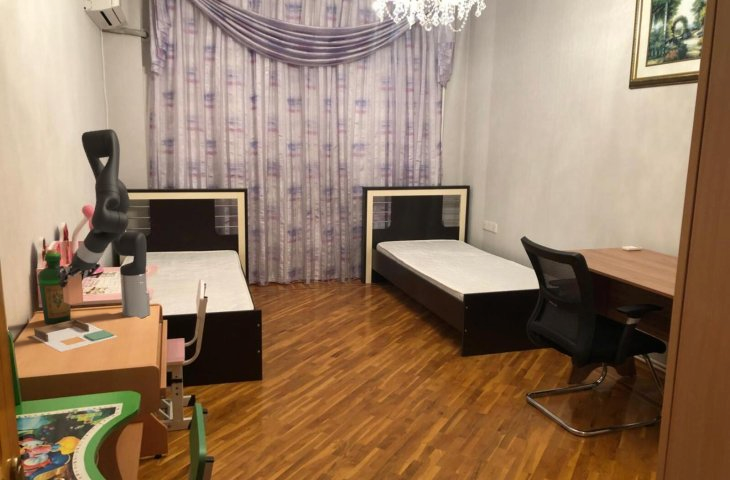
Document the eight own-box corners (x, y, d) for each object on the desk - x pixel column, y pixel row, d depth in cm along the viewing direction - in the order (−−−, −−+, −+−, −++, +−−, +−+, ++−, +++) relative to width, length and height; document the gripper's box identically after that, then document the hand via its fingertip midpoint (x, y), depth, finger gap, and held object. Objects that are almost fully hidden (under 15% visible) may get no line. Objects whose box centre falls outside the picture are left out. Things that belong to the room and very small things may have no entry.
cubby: (76, 325, 207) (76, 319, 206) (89, 331, 201) (88, 324, 201) (34, 335, 196) (34, 328, 195) (46, 341, 190) (46, 335, 190)
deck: (87, 325, 210) (86, 322, 210) (117, 339, 197) (117, 336, 197) (31, 339, 196) (31, 336, 195) (60, 355, 182) (60, 351, 182)
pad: (103, 331, 201) (103, 329, 201) (113, 336, 197) (113, 334, 197) (83, 336, 196) (83, 334, 196) (93, 341, 192) (93, 339, 192)
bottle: (60, 329, 205) (54, 253, 201) (34, 327, 208) (28, 252, 203) (80, 320, 216) (75, 248, 211) (55, 318, 218) (50, 246, 213)
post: (77, 299, 198) (74, 263, 196) (83, 301, 195) (80, 264, 193) (63, 302, 195) (61, 264, 193) (69, 304, 192) (67, 266, 190)
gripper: (102, 241, 194) (83, 271, 202) (62, 247, 182) (43, 279, 190) (113, 258, 192) (93, 288, 200) (74, 266, 180) (54, 297, 188)
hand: (69, 283), depth 195 cm, fingers closed on post, 5 cm apart
